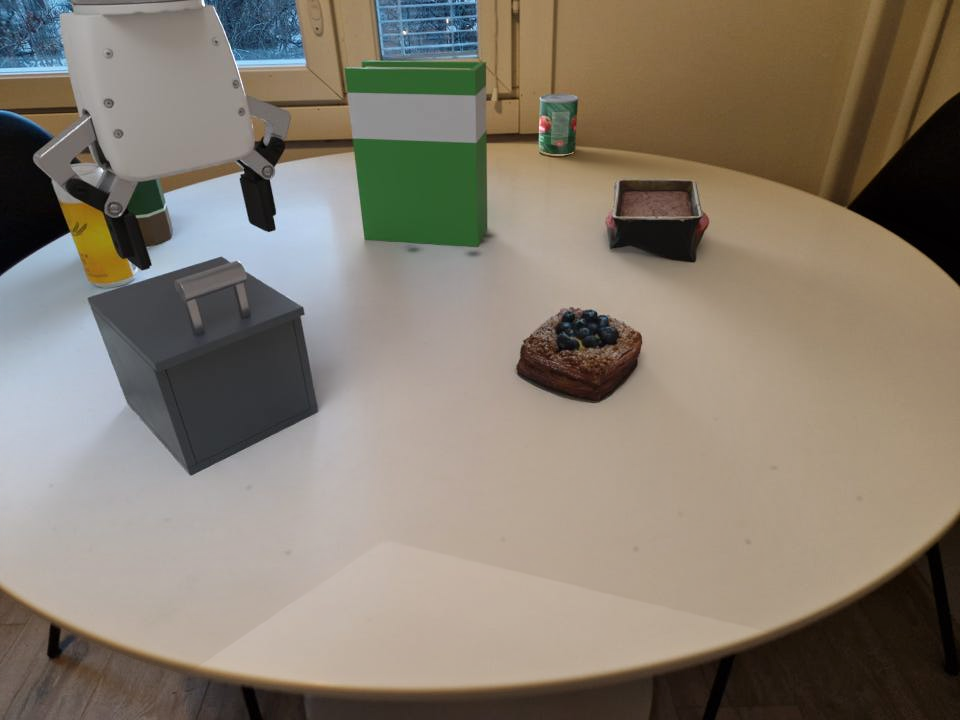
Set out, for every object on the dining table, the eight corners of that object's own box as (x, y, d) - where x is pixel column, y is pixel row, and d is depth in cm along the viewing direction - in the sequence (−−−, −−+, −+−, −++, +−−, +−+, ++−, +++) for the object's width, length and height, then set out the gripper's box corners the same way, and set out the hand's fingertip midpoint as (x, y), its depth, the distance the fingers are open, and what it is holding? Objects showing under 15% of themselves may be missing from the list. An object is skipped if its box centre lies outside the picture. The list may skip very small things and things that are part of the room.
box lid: (305, 314, 56) (294, 254, 53) (157, 372, 48) (135, 306, 45) (223, 263, 65) (210, 209, 62) (89, 305, 58) (67, 246, 55)
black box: (318, 411, 62) (300, 312, 56) (190, 475, 55) (153, 369, 49) (246, 354, 71) (223, 264, 65) (127, 403, 64) (89, 306, 58)
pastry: (504, 377, 66) (504, 327, 63) (558, 328, 75) (561, 282, 72) (602, 412, 61) (608, 359, 58) (649, 355, 70) (657, 306, 66)
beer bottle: (166, 225, 105) (119, 64, 92) (182, 238, 100) (135, 70, 87) (114, 237, 101) (58, 70, 88) (129, 252, 96) (72, 77, 83)
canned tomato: (582, 153, 138) (586, 98, 132) (552, 158, 134) (554, 102, 128) (560, 145, 143) (563, 92, 137) (530, 150, 140) (532, 96, 134)
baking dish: (593, 270, 93) (603, 208, 86) (611, 210, 105) (621, 152, 98) (696, 289, 90) (715, 225, 83) (702, 225, 102) (719, 165, 96)
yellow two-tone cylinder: (93, 274, 89) (52, 165, 81) (141, 267, 91) (106, 159, 83) (87, 292, 84) (44, 178, 76) (138, 285, 86) (100, 172, 78)
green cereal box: (364, 239, 98) (344, 68, 86) (380, 222, 105) (363, 60, 92) (478, 246, 95) (475, 70, 83) (487, 228, 102) (485, 62, 89)
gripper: (237, -23, 47) (281, 205, 56) (-44, -10, 37) (65, 265, 46) (290, -23, 43) (329, 226, 52) (-15, -7, 33) (101, 298, 42)
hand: (204, 244), depth 49 cm, fingers open, 9 cm apart
